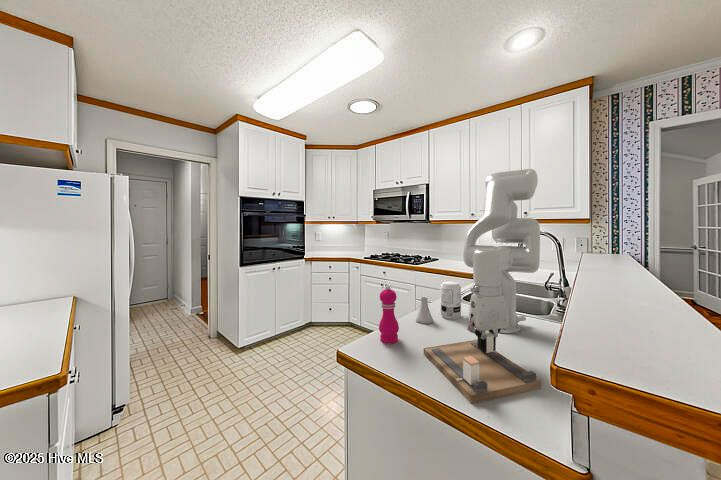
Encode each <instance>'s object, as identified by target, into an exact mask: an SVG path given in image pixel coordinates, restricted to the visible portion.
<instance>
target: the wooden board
mask: <svg viewBox="0 0 721 480" xmlns="http://www.w3.org/2000/svg"><path fill="white" fill-rule="evenodd" d="M423 355H424V356H425V357H426V359H428V361H429V362H431V364H432V365H433V366H434V367H435V368H436V369H437V370H438V371H439V372H440V373H442V375H443V376H444V377H445V378H446V379H447V380H448V381H449V382H450V383H451V384H452V385H453V386H454V388H455V389H456V390H457V391H458V392H459V393H460V394H461V395H462V396H463V397H464V398H465V399H466V400H467V401H468V402H469V403H470V404H475V403H481V402H486V401H490V400H493V399H494V400H495V399H500V398H503V397H508V396H512V395H516V394H517V395H518V394H521V393H526V392H531V391H536V390H540V389H542V380H541V379H540V378H538V376H537V373H536V372H534V371H533V370H529V371H527V370H526V369H524V368H522V367H521V366H520V365H518V364H516V363H515V362H513V361H512V360H510V359H509V358H507V357H506V356H504V355H503V354H502V353H499V352H498V351H496V350H495V351H494V352H489V353H486V352H483V351H482V350H480V349H479V348H478V339H473V340H466V341H461V342H460V341H459V342H453V343H447V344H441V345H434V346H429V347H428V346H427V347H423ZM469 356H472V357H473V358H475V359H476V360H477V361H479V382H474V383H473V385H470V384H469V383H468V382H467V381H466V380H465V379H464V378H463V357H469Z"/></svg>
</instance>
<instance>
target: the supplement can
mask: <svg viewBox="0 0 721 480" xmlns="http://www.w3.org/2000/svg"><path fill="white" fill-rule="evenodd" d="M461 295H462V286H461V285H460V282H458V281H456V280H455V281H454V280H444V281H442V282H441V284H440V316H441V317H442V318H443V319H446V320H458V319H460V318H461V316H462V307H461V306H462V301H461V300H462V296H461Z"/></svg>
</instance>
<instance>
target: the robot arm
mask: <svg viewBox="0 0 721 480" xmlns="http://www.w3.org/2000/svg"><path fill="white" fill-rule="evenodd" d="M538 177H539V176H538V173H537V171H536V170H535V169H533V168H525V169H517V170H508V171H506V170H505V171H501V172H500V171H498V172H494V173H491V174H490V175H489V174H488V176H487V177H486V178H485V181H484V183H485V197H484V205H483V214H482V216H481V218H480V219H478V220H477V221H476V222H475V223H474V224H473V225H472V227H470V229H469V230H468V232H467V234H466V236H465V241H464V247H463V254H462V255H463V258H462V259H463V262H464V265H465V266H467V267H469V268H472V269H473V271H472V272H473V273H472V274H473V275H472V277H473V281H472V283H473V284H472V286H473V287H471V288H470V290H469V291H470V292H471V295H470V296H471V297H470V300H469V309H468V326H467V328H466V330H467V331H468V332H470V333H471V334H474V335H475V336H476V337H477V340H478V348H479V349H480V350H482V351H483V352H486V351H487V340H486V339H485V331H489V332H490V333H492V334H494V351H496V350H497V348H496V346H497V345H496V344H497V343H496V342H497V338H498V337H499V333H501V334H516V333H518V332H520V331H521V325H520V324H519V323H520V322H525V321H526V320H527V318H526V316H525V315H519V316H518V315H517V312H516V311H517V282H516V280H515V278H514V277H513V276H512V275H511V273H524V274H533V273H536V272H538V270H539V267H540V260H541V259H540V258H541V257H540V256H541V255H540V254H541V226H540V223H539V221H538V220H537V219H535V218H532V217H518V205H517V204H516V202H515V201H527V200H528V201H529V200H531V199H532V198H533V197H534V196H535V193H536V190H537V186H538V181H539V180H538ZM488 232H491V239H492V240H493V241H494V242H496V243H499V244H500V243H501V244H523V245H525V246H520V245H519V246H517V245H516V246H515V245H514V246H513V245H485V244H484V245H480V244H477V243H476V242H477V241H478V240H479V238H480V237H481V236H482V235H484V234H486V233H488ZM476 244H477V245H476ZM480 331H481V333H480Z"/></svg>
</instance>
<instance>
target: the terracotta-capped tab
mask: <svg viewBox="0 0 721 480" xmlns="http://www.w3.org/2000/svg"><path fill="white" fill-rule="evenodd" d="M463 378H464V379H465V380H466V381H467V382H468V383H469V384H470V385H473V383H474V382H479V361H477V360H476V359H475V358H473V357H472V356H469V357H463Z"/></svg>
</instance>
